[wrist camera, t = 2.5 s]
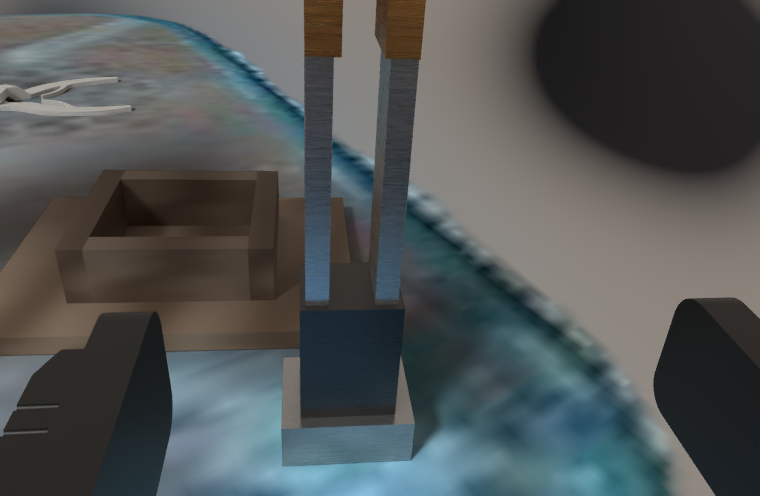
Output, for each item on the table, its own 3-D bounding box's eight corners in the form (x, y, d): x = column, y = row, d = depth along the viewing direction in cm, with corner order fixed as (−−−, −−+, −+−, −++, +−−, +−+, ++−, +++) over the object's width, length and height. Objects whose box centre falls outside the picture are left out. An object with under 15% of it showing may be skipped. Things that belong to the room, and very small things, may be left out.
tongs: (282, 466, 25) (268, -20, 16) (284, 392, 28) (273, -42, 20) (410, 460, 26) (465, -12, 17) (397, 389, 29) (437, -35, 20)
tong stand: (-41, 356, 29) (-68, 282, 27) (57, 211, 41) (43, 152, 39) (358, 346, 31) (362, 277, 29) (341, 211, 43) (343, 155, 41)
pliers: (130, 98, 57) (-73, 115, 51) (132, 115, 57) (-67, 134, 51) (115, 67, 64) (-63, 78, 58) (117, 83, 65) (-58, 96, 59)
